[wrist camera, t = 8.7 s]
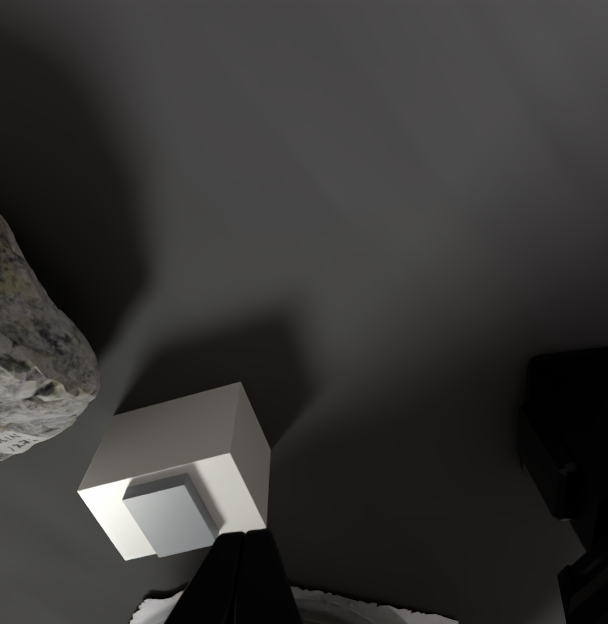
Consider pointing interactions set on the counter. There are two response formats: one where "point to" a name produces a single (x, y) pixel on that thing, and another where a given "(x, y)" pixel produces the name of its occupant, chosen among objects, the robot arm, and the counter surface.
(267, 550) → the robot arm
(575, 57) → the counter surface
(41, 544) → the counter surface
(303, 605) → the decorative urn
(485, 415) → the counter surface
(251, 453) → the module
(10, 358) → the rock
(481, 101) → the counter surface
